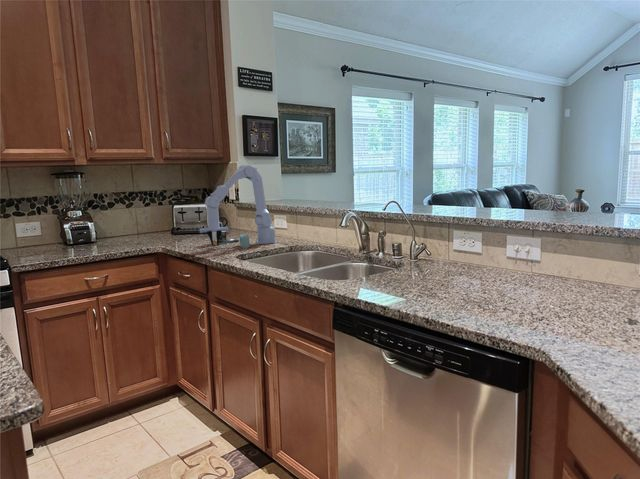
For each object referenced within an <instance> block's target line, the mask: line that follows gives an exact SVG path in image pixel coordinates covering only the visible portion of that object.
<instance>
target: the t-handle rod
mask: <svg viewBox="0 0 640 479" xmlns="http://www.w3.org/2000/svg"><path fill="white" fill-rule="evenodd" d="M222 243H226V244H232V243H234V244H235V243H236V244H237V243H240V239H239V238H233V239H227V240H219V244H221V245H223V244H222ZM215 246H217V240H216V239H213V247H215Z"/></svg>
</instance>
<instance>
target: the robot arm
mask: <svg viewBox="0 0 640 479" xmlns="http://www.w3.org/2000/svg"><path fill="white" fill-rule="evenodd" d="M242 179H247V180H249V181H251V183H252V189H253V196H254V203H255V208H256V211H255V213H254V214H255V217H254V222H255V224H256V229H257V230H256V231H257V233H256V234H257V240H256V244H258V245H263V244H276V234H275V231H276V230H275V226H271V225H272V223H273V219H272V217H271V215H270V212H269V211H268V209H267V204H266V197H265V190H264V184H263V183H264V182H263V177H262V175H261V174H260V172H259V171H258V169H257V167H255V166H254V165H252V164H249V165H248V164H247V165H246V164H245V165H244V164H242V165H240V166H239V167H238V168H237V169H235V171H234V172H233V174H232V175H231V176H230V177H229V178H228V179H227V181H226V182H225V183H224V184H223V185H222V184H221V185H217V187H216V189H215V190H214V191H213V192H212V193H210V196H208V197H207V196H206V198H205V201H204V205H205V206H206V211H207V212H206V214H207V215H206V217H207V227H205V228H204V227H203V228H199V233H201V234H202V233H206V234H207V236H209V238H210V240H211V243H212V245H211V246H212V247H214V245H213V239H212V232H216V233H217V245H216V246H219V239H220V236H221V233H222V232H221V231H226V232H229V226H222V227H220V226H219V222H220V215H219V214H220V212H219V207H220V205H221V202H222V200H223V199H225V197H226V196H227V195H228V194H229V192H230V191H229V189H231V188H232V187H233V186H234V185H235V183H237V182H238V181H239V180H242ZM212 230H216V231H212ZM209 238H208V239H209Z"/></svg>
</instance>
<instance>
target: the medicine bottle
mask: <svg viewBox="0 0 640 479" xmlns="http://www.w3.org/2000/svg"><path fill="white" fill-rule="evenodd" d="M219 226H220V227H223V223H222V222H220V221H219ZM211 231H216V230H211ZM221 232H222V233H221V236H220V239H219V240H228V239H227V231H221ZM207 236H208V235H207ZM212 239H216V240H217V233H216V232H212ZM225 244H227V243H222V244H219V245H225ZM208 245H211V246H212V243H211V240H210V238H209V236H208Z"/></svg>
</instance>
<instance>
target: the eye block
mask: <svg viewBox="0 0 640 479" xmlns="http://www.w3.org/2000/svg"><path fill="white" fill-rule="evenodd" d="M239 245H240V248H242V249H247V248H248V247H250V236H249V235H248V233H246V234H239Z"/></svg>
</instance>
